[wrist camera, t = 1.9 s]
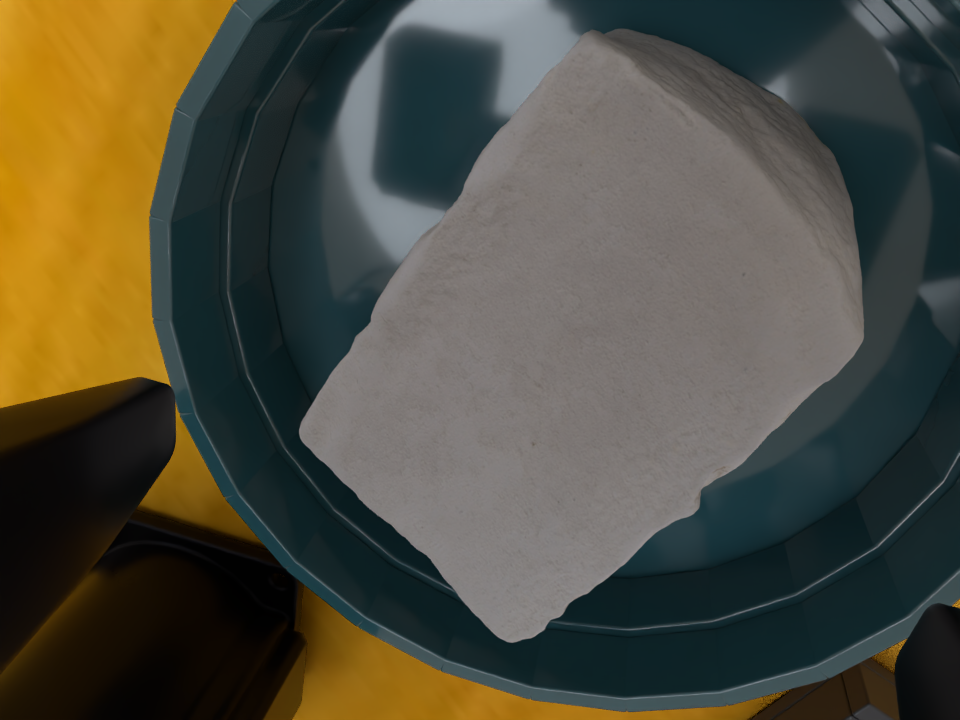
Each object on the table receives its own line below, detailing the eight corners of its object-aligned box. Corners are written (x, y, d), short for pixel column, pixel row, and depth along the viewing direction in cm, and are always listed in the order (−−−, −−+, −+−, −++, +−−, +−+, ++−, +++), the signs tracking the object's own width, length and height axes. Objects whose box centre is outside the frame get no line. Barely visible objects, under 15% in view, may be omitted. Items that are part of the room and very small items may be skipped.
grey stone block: (655, 60, 16) (648, -100, 10) (898, 263, 15) (1044, 211, 9) (350, 405, 17) (199, 433, 12) (549, 609, 16) (487, 745, 11)
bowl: (241, 489, 19) (158, 583, 16) (265, -201, 13) (133, -265, 9) (818, 660, 17) (849, 802, 14) (1199, -35, 11) (1410, -48, 8)
